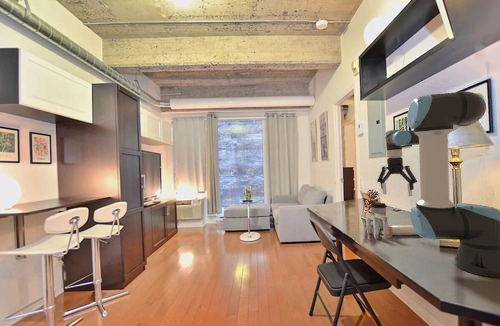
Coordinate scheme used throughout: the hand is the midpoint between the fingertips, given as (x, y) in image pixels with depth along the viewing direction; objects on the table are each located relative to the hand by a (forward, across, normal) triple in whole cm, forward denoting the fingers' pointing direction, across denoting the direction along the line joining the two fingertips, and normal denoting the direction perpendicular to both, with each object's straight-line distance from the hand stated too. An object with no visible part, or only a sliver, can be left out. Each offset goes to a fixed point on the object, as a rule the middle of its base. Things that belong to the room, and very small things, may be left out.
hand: (397, 195), depth 134 cm
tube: (+22, -4, 0) cm, 22 cm away
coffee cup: (+22, +14, -5) cm, 27 cm away
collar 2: (+22, +4, +10) cm, 24 cm away
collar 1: (+22, +8, +14) cm, 27 cm away
